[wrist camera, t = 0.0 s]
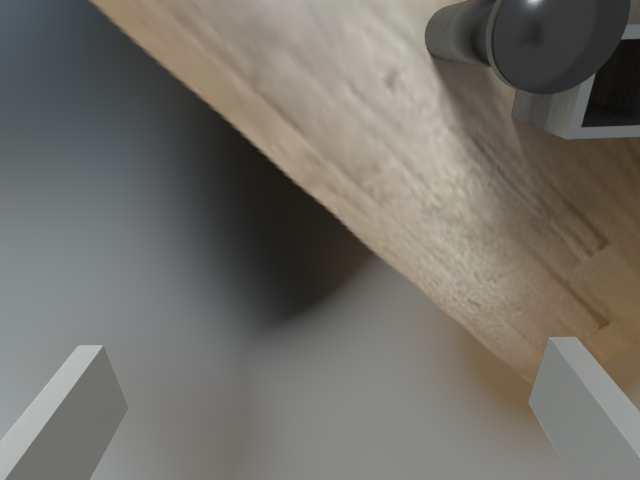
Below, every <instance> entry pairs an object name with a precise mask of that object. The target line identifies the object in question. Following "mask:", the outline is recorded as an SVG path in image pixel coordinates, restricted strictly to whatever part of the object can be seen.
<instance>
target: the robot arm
mask: <svg viewBox="0 0 640 480" xmlns="http://www.w3.org/2000/svg"><path fill="white" fill-rule="evenodd" d="M528 403H529V405H530V407H531V409H532V410H533V412H534V414H535V415H536V417H537V419H538V421H539V423H540V425H541V426H542V428H543V430H544V432H545V434H546V435H547V437H548V439H549V441H550V443H551V444H552V446H553V448H554V450H555V452H556V453H557V455H558V457H559V459H560V461H561V462H562V464H563V466H564V468H565V469H566V471H567V473H568V475H569V477H570V478H571V480H640V412H639V411H638V410H637V408H636V407H635V406H634V405H633V404H632V403H631V401H630V400H629V399H628V398H627V397H626V395H625V394H624V393H623V392H622V391H621V390H620V388H619V387H618V386H617V385H616V384H615V382H614V381H613V380H612V379H611V378H610V376H609V375H608V374H607V373H606V372H605V371H604V369H603V368H602V367H601V366H600V365H599V363H598V362H597V361H596V360H595V359H594V358H593V356H592V355H591V354H590V353H589V352H588V350H587V349H586V348H585V347H584V346H583V344H582V343H581V342H580V341H579V340H578V339H577V337H549V339H548V342H547V345H546V348H545V352H544V355H543V358H542V361H541V364H540V367H539V370H538V374H537V377H536V380H535V383H534V386H533V390H532V392H531V396H530V399H529V402H528ZM127 410H128V405H127V403H126V400H125V398H124V396H123V393H122V390H121V388H120V386H119V383H118V381H117V378H116V375H115V373H114V371H113V368H112V365H111V363H110V360H109V358H108V355H107V353H106V351H105V348H104V346H103V345H96V346H95V345H94V346H93V345H91V346H78V347H77V348H76V349H75V351H74V352H73V353H72V354H71V355H70V357H69V358H68V359H67V360H66V362H65V363H64V364H63V366H61V368H60V369H59V370H58V372H57V373H56V374H55V375H54V376H53V378H52V379H51V380H50V381H49V382H48V384H47V385H46V386H45V387H44V389H43V390H42V391H41V392H40V393H39V395H38V396H37V397H36V398H35V400H34V401H33V402H32V403H31V404H30V406H29V407H28V408H27V409H26V411H25V412H24V413H23V414H22V415H21V417H20V418H19V419H18V420H17V422H16V423H15V424H14V425H13V426H12V428H11V429H10V430H9V431H8V433H7V434H6V435H5V436H4V438H3V439H2V440H1V441H0V480H90V478H91V476H92V474H93V472H94V471H95V469H96V467H97V465H98V463H99V461H100V459H101V458H102V456H103V454H104V452H105V450H106V448H107V447H108V444H109V442H110V441H111V439H112V437H113V435H114V434H115V432H116V430H117V428H118V426H119V424H120V422H121V421H122V419H123V417H124V415H125V413H126V411H127Z"/></svg>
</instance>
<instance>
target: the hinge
mask: <svg viewBox="0 0 640 480" xmlns="http://www.w3.org/2000/svg"><path fill="white" fill-rule="evenodd" d="M511 117H513V118H515V119H517V120H520V121H522V122H525V123H527V124H530V125H532V126H535V127H537V128H539V129H542V130H544V131H547V132H549V133H552V134H554V135H557V136H559V137H561V138H564V139H593V138H621V137H640V0H631V5H630V14H629V18H628V22H627V25H626V28H625V31H624V34H623V36H622V38H621V40H620V42H619V44H618V46H617V47H616V49H615V51H614V52H613V54H612V55H611V56H610V58H609V59H608V60H607V61H606V63H605V64H604V65H603V66H602V67H601V68H600V69H599V70H598V71H597V72H596V73H595V74H594V75H592V76H591V77H590V78H588V79H587V80H586V81H584V82H582V83H581V84H579V85H577V86H575V87H573V88H571V89H569V90H566V91H563V92H559V93H555V94H547V95H544V94H534V93H529V92H525V91H521V90H518V89H517V90H516V95H515V100H514V106H513V111H512V116H511Z"/></svg>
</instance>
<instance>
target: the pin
mask: <svg viewBox="0 0 640 480" xmlns="http://www.w3.org/2000/svg"><path fill="white" fill-rule="evenodd" d="M630 5H631V0H468V1H464V2H461V3H457V4H454V5H450V6H447V7H444V8H442V9H440V10H439V11H437V12H436V13H435V14H434V15H433V16H432V17H431V19H430V20H429V22H428V24H427V27H426V31H425V43H426V46H427V49H428V51H429V52H430V53H431V54H432V55H433V56H434V57H436V58H438V59H441V60H447V61H454V62H460V63H466V64H472V65H479V66H485V67H491V68H492V69H493V71H494V72H495V74H496V75H497V76H498V77H499V78H500V79H501V81H503V82H504V83H505V84H507V85H509V86H510V87H512V88H515V89H518V90H521V91H525V92H529V93H534V94H544V95H547V94H555V93H559V92H563V91H566V90H569V89H571V88H573V87H575V86H577V85H579V84H581V83H582V82H584V81H586V80H587V79H588V78H590V77H591V76H592V75H594V74H595V73H596V72H597V71H598V70H599V69H600V68H601V67H602V66H603V65H604V64H605V63H606V61H607V60H608V59H609V58H610V56H611V55H612V54H613V52H614V51H615V49H616V47H617V46H618V44H619V42H620V40H621V38H622V36H623V34H624V31H625V28H626V25H627V22H628V18H629V14H630Z"/></svg>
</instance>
